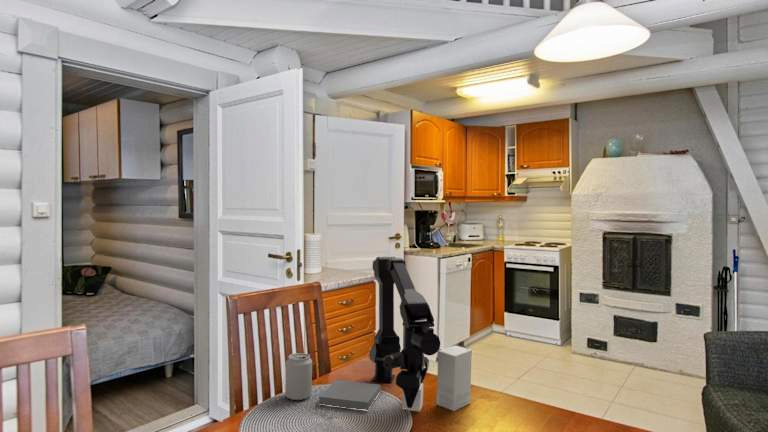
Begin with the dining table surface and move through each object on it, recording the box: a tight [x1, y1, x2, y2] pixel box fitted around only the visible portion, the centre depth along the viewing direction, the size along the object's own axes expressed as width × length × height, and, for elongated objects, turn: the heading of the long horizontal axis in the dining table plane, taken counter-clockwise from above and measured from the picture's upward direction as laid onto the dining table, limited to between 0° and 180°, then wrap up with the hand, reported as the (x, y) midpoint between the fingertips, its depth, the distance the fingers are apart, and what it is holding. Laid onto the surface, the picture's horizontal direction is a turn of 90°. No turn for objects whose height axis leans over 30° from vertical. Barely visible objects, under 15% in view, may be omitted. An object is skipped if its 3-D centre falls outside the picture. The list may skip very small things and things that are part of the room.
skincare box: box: [436, 345, 473, 412], centre depth 131 cm, size 8×7×16 cm
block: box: [401, 383, 424, 413], centre depth 129 cm, size 5×5×6 cm
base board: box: [318, 379, 382, 410], centre depth 133 cm, size 14×14×2 cm
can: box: [284, 352, 313, 401], centre depth 134 cm, size 8×8×12 cm
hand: (412, 401), depth 129 cm, fingers open, 9 cm apart
